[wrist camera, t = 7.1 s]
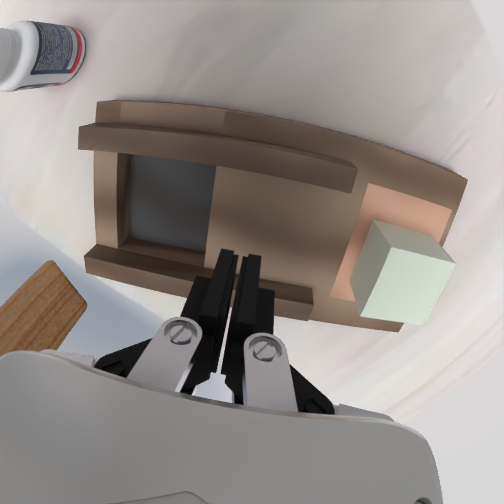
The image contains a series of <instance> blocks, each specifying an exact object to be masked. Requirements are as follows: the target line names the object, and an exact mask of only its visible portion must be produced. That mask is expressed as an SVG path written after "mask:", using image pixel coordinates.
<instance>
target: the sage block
mask: <svg viewBox="0 0 504 504" xmlns="http://www.w3.org/2000/svg"><path fill="white" fill-rule="evenodd" d="M455 265H456V263H455V262H454V261H453V259H452V258H451V257H450V256H449V255H448V253H447V252H446V251H445V250H444V249H443V248H442V247H441V245H440V244H439V243H438V242H437V241H436V240H435V239H434V238H433V236H432V235H428V234H425V233H421V232H418V231H415V230H411V229H407V228H404V227H400V226H397V225H393V224H389V223H386V222H382V221H378V220H374V219H373V220H372V223H371V226H370V228H369V231H368V234H367V237H366V239H365V242H364V245H363V248H362V250H361V253H360V255H359V258H358V261H357V263H356V266H355V268H354V271H353V273H352V276H351V278H350V284H351V288H352V291H353V294H354V297H355V301H356V304H357V307H358V311H359V314H360V316H361V317H368V318H374V319H381V320H388V321H395V322H402V323H409V324H417V325H423V324H424V322H425V320H426V319H427V317H428V315H429V314H430V312H431V310H432V308H433V307H434V305H435V303H436V301H437V300H438V298H439V296H440V294H441V292H442V290H443V289H444V287H445V285H446V283H447V281H448V279H449V277H450V275H451V273H452V271H453V269H454V267H455Z"/></svg>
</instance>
